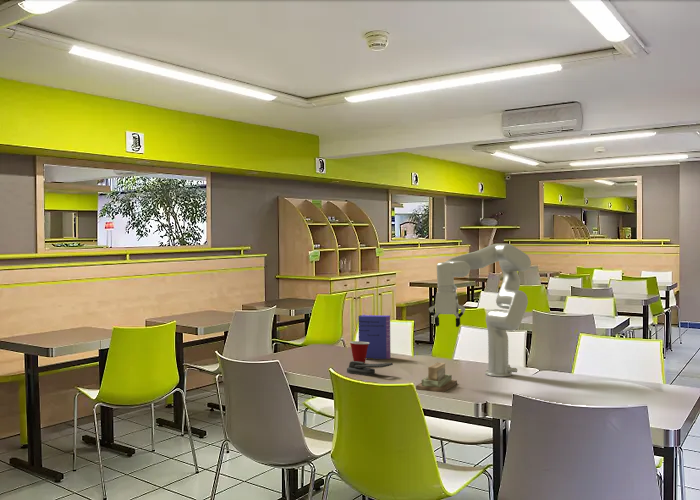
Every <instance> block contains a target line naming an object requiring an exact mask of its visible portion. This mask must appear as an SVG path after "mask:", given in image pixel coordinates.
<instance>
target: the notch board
mask: <svg viewBox="0 0 700 500" xmlns="http://www.w3.org/2000/svg"><path fill="white" fill-rule="evenodd" d="M457 384H458V380H457V379H452V374H446V373H445V378H443V379H441V380H440V381H432V380H428V376H426V377H425V378H423V379H421V382H420V383H418V384H416V385H415V390H420V391H430V392H442V393H445V392H447V391H448V390H450V389H451V388H453V387H455V386H456V385H457Z"/></svg>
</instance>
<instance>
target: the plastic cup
mask: <svg viewBox="0 0 700 500" xmlns="http://www.w3.org/2000/svg"><path fill="white" fill-rule="evenodd" d="M349 344H350V348H351V349H350V350H351V354H352V361H358V362H364V363H365V364H366V360H367V359H366V355H367V348H368V345H369V344H370V343H369V342H361V341H359V340H358V341H355V340H351V341H349Z"/></svg>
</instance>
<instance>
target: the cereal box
mask: <svg viewBox="0 0 700 500" xmlns="http://www.w3.org/2000/svg"><path fill="white" fill-rule="evenodd" d="M358 341H361V342H369V343H370V344H369V345H368V348H367V355H366V358H373V359H372V360H390V359H391V355H392V354H391V353H392V352H391V315H373V314H371V315H370V314H369V315H365V314H364V315H363V314H362V315H358Z"/></svg>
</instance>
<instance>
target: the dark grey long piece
mask: <svg viewBox="0 0 700 500" xmlns="http://www.w3.org/2000/svg"><path fill="white" fill-rule="evenodd" d="M391 366H393V362H380V363H378V362H377V363H366V362H365V363H364V362H358V361H354V360H352V361H350V362H349V365H348V367H346V373H347V374H352V375H357V376H358V375H360V376H373V375H375V374H376V370H375V369H376V368H385V367H386V368H387V367H391Z"/></svg>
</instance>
